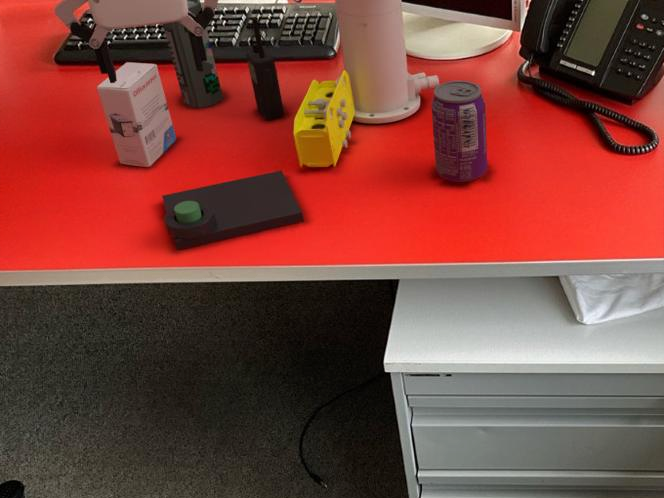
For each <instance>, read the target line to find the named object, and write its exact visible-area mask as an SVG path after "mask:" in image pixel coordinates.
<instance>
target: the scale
mask: <svg viewBox="0 0 664 498" xmlns="http://www.w3.org/2000/svg"><path fill="white" fill-rule="evenodd" d="M161 198H162V200H163V204H164V208H165V212H166V214H165V216H164V217H163V219H164V225H165V228H166V230H167V233H168V235H169V236H170V237H173V241H174V244H175V247H176V251H181V250H184V249H189V248H193V247H197V246H202V245H207V244H210V243H215V242H220V241H223V240H229V239H233V238H237V237H240V236H241V237H242V236H245V235H246V236H247V235H249V234H254V233H259V232H263V231H266V230H272V229H275V228H280V227H285V226H289V225H293V224H297V223H301V222H304V221H305V219H304V214H303V211H302V209H301V207H300V204H299V202H298V201H297V198H296V196H295V194H294V192H293V190H292V189H291V186H290V184H289V182H288V180H287V178H286V177H285V174H284V172H283V170H281V169H280V170H275V171H271V172H267V173H261V174H257V175H253V176H248V177H247V176H246V177H243V178H238V179H234V180H229V181H225V182H220V183H215V184H211V185H206V186H201V187H196V188H192V189H188V190H182V191H177V192H172V193H168V194H167V193H166V194H162V195H161ZM185 201H195V202H197V203H198V204H199V207H200V210H201V214H202V217H201V219H199V220H197V221H195V222H191V223H179V222H178V221H177V218H176V215H175V211H174V207H175V206H176V205H177V204H179V203H181V202H185Z"/></svg>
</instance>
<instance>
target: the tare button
mask: <svg viewBox="0 0 664 498" xmlns="http://www.w3.org/2000/svg"><path fill="white" fill-rule="evenodd" d="M174 211H175V215H176V218H177V221H178V222H179V223H191V222H195V221H197V220H199V219H201V217H202V214H201V210H200V207H199V204H198V203H197V202H195V201H185V202H181V203H179V204H177V205H176V206H175V207H174Z"/></svg>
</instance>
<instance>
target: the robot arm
mask: <svg viewBox="0 0 664 498" xmlns="http://www.w3.org/2000/svg"><path fill="white" fill-rule="evenodd" d="M86 3H88V6H89V9H90V13H91V16H92V19H93V21H94V23H93V24H92V26H91V27H90V26H88V25H87V24H86V23H84V22H82V21H81V20H79V19H78V18H77V17H76V15H75V14H74V12H75V11H77V10H78V9H80V8H81V7H83V6H84V5H85V4H86ZM218 3H219V0H204V1H203V4H202V6H201V7H202V8H201V9H200V11H199V12H198V14H197V15H196V16H195V15H193V14H192V13H191V12H190V11H189V10H188V5H187V0H61V1H59V2H58V3H56V4H55V6H54V14H55V15H56V16H57V18H58V19H59V20H60V21H61V22H62V23H63V25H65V27H67V28H68V29H69V30H70V32H71V34H72V35H74V36H76V37H77V38H79V39H80V40H82V41H83V42H85V43H87V44H88V45H89V46H90V48H91V49H93V50H94V54H95V57H96V60H97V64H98V67H99V70H100V74H101V75H107V76H108V77H109V80H110V83H115V81H117V79H116V71H117V70H116V67H115V64H114V61H113V57H112V54H111V50H110V47H109V43H108V40H106V37H107V35H108V33H109V31H110V30H118V29H128V28H139V27H145V26H155V25H163V24H164V23H171V22H177V21H179V22H180V23H181V24H182V25H184V26H185V27H186V28H187V29H188V30H189V31H188V35H189V39H190V44H191V48H192V52H193V57H194V61H195V65H196V69H197V71H199V72H201V71H203V66H202V62H201V61H207V56H206V52H205V47H204V43H203V38H202V35H203V34H204V30H205V29H206V28H208V26H209V24H210V23H211V21H212V20H213V19H214V18H215V13H216V9H217V6H218ZM402 3H403V2H402V0H334V4H335V14H336V20H337V27H338V34H339V40H340V41H339V42H340V48H341V56H342V63H343V69H344V70H345V71H346V72H347V73H348V74H349V78H350V84H351V90H352V95H353V103H354V109H355V115H354V117H353V120H352V122H357V123H361V124H372V125H373V124H375V125H381V124H388V123H395V122H398V121H401V120H403V119H406V118H408V117H410V116H412V115H413V114H415V113H417V111H418V110H419V109H420V107H421V96H420V94H421V92H422V91H425V90H428V91H429V90H434V89H435V88H436V87H437V86H438V85H440V78H439V76H438V75H437V74H433V75H428V76H427V75H426V73H425V72H424V71H423V72H418V73H415V74H411V73H409V71H408V60H407V48H406V37H405V27H404V26H405V25H404V16H403V7H402ZM108 77H107V78H108Z"/></svg>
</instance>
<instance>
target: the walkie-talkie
mask: <svg viewBox="0 0 664 498" xmlns="http://www.w3.org/2000/svg"><path fill="white" fill-rule="evenodd" d="M251 23H252V27H253V32H254V38H255V43H252V44H251V47H252V50H249V51H247V53H246V54H245V57H246V60H247V66H248V70H249V76H250V79H251V85H252V89H253V94H254V99H255V104H256V108H257V112H258V113H259V114H260V115H261V116H262V117H263V119H265V121H273V120H276V119H280V118H284V116H285V110H284V109H285V108H284V103H283V99H282V93H281V88H280V84H279V78H278V71H277V66H276V62H275V57H274V56H273V55H272V54H270V52H269V51H268V50H267V49H265V48H264V45H263V40H262V35H261V30H260V26H259V19H258V18H257V17H256V16H255V17H252V18H251Z"/></svg>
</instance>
